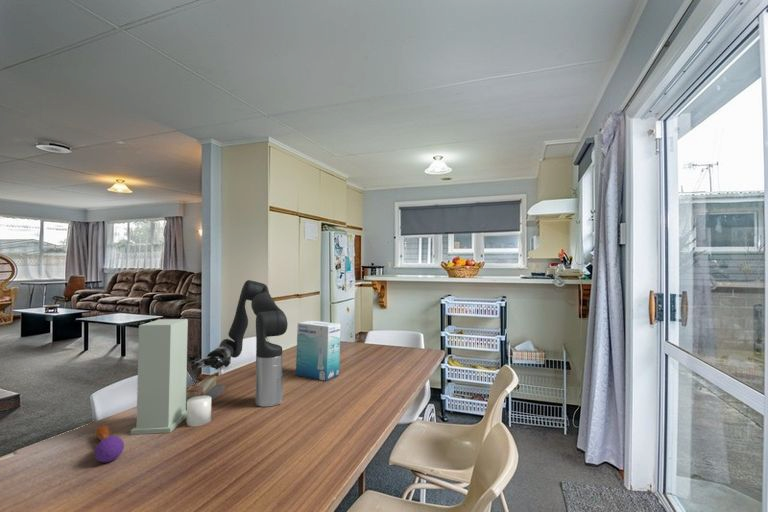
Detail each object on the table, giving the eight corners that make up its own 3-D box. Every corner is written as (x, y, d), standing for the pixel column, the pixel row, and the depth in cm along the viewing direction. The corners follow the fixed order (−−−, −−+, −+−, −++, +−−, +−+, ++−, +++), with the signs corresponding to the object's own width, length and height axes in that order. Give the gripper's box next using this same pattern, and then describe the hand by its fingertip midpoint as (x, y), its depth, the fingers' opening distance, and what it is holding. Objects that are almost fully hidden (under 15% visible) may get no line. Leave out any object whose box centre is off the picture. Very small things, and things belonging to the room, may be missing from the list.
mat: (224, 387, 144) (224, 385, 144) (204, 409, 123) (204, 406, 123) (199, 388, 143) (199, 386, 143) (173, 410, 121) (173, 408, 121)
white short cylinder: (214, 416, 117) (214, 395, 117) (206, 425, 110) (206, 403, 110) (191, 417, 116) (192, 396, 116) (182, 427, 109) (183, 404, 109)
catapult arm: (217, 384, 146) (217, 373, 146) (197, 402, 126) (197, 390, 126) (205, 384, 146) (206, 373, 146) (184, 403, 126) (184, 390, 126)
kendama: (117, 419, 105) (127, 438, 91) (112, 441, 104) (122, 463, 90) (92, 421, 101) (99, 441, 87) (86, 444, 100) (92, 467, 86)
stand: (190, 413, 119) (192, 318, 120) (170, 432, 105) (172, 325, 106) (155, 414, 118) (157, 319, 119) (130, 434, 104) (133, 325, 105)
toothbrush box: (340, 375, 161) (340, 322, 162) (327, 381, 152) (327, 325, 153) (309, 370, 169) (310, 319, 170) (295, 376, 160) (295, 322, 161)
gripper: (202, 348, 154) (185, 358, 138) (235, 347, 156) (223, 357, 140) (201, 365, 154) (185, 377, 138) (235, 364, 155) (223, 376, 139)
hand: (204, 367), depth 139 cm, fingers open, 8 cm apart
